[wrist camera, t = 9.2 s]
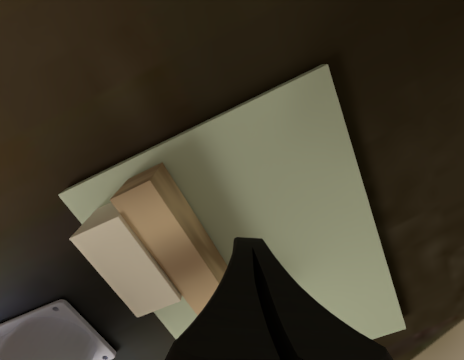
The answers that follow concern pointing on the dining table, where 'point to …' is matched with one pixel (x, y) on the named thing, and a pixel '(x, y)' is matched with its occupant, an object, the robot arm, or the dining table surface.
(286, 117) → the board
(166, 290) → the block
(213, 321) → the robot arm
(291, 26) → the dining table surface
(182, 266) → the leg
